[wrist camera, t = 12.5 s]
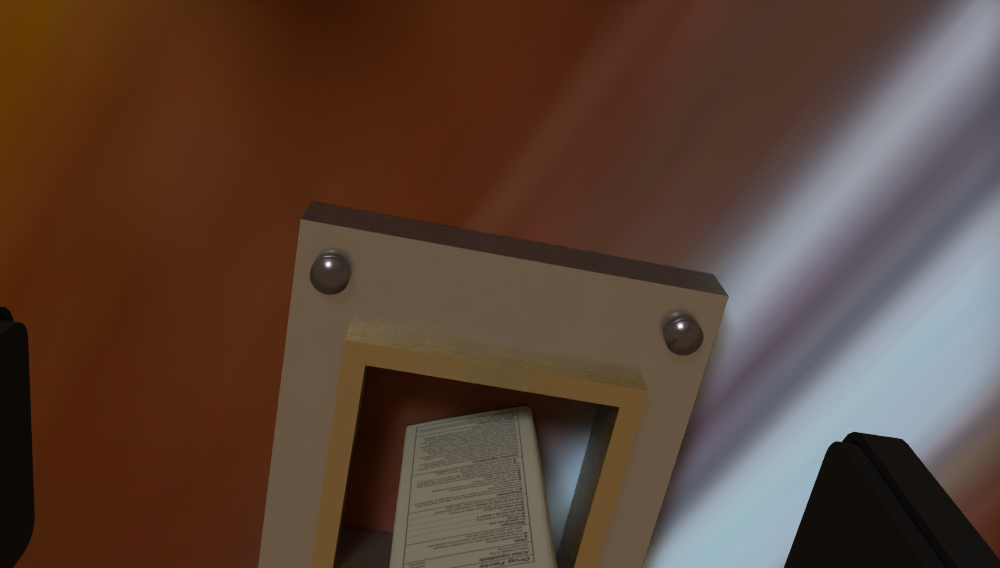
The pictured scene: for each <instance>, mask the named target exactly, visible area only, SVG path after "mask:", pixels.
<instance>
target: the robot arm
mask: <svg viewBox="0 0 1000 568" xmlns="http://www.w3.org/2000/svg"><path fill="white" fill-rule="evenodd" d="M34 519H35V514H34V486H33V459H32V432H31V404H30V377H29V350H28V334H27V330H26V327H25V325H24V324H22V323H20V322H14V320H13V317H12V315H11V312H10V311H9V310H8V309H7V308H6V307H0V568H13V567H14V566H15V564H16V563H17V562H18V560H19V559H20V557H21V556H22V555H23V553H24V552H25V550H26V548H27V546H28V544H29V542H30V539H31V536H32V533H33V528H34ZM784 568H1000V560H999V558H998V557H997V556H996V555H995V553H994V552H993V551H992V549H991V548H990V547H989V546H988V544H987V543H986V542H985V541H984V539H983V538H982V537H981V536H980V534H979V533H978V532H977V531H976V529H975V528H974V527H973V526H972V524H971V523H970V522H969V521H968V519H967V518H966V517H965V516H964V514H963V513H962V512H961V511H960V509H959V508H958V507H957V506H956V504H955V503H954V502H953V500H952V499H951V498H950V497H949V495H948V494H947V493H946V492H945V490H944V489H943V488H942V487H941V485H940V484H939V483H938V482H937V480H936V479H935V478H934V477H933V475H932V474H931V473H930V472H929V470H928V469H927V468H926V467H925V465H924V464H923V463H922V462H921V460H920V459H919V458H918V457H917V455H916V454H915V453H914V451H913V450H912V449H911V448H910V446H909V445H908V444H907V443H906V442H905V441H903V440H902V439H898V438H892V437H885V436H878V435H872V434H865V433H858V432H852V433H850V434H848V435H847V436H846V437H845V438H844V440H843V441H842V442H837V441H836V442H834V443H832V444H831V445H830V446H829V448H828V450H827V452H826V454H825V457H824V460H823V462H822V465H821V468H820V471H819V473H818V476H817V479H816V481H815V484H814V487H813V490H812V492H811V495H810V498H809V501H808V503H807V506H806V509H805V512H804V514H803V517H802V520H801V522H800V525H799V528H798V531H797V533H796V536H795V539H794V542H793V544H792V547H791V550H790V553H789V555H788V558H787V561H786V563H785V566H784Z"/></svg>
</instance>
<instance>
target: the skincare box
mask: <svg viewBox="0 0 1000 568" xmlns="http://www.w3.org/2000/svg"><path fill="white" fill-rule="evenodd" d="M389 568H557V564H556V557H555V551H554V544H553V538H552V531H551V524H550V518H549V511H548V504H547V497H546V490H545V483H544V476H543V471H542V464H541V458H540V452H539V447H538V441H537V436H536V430H535V425H534V420H533V415H532V410H531V408H530V407H529V406H521V407H513V408H507V409H500V410H494V411H488V412H482V413H476V414H471V415H465V416H459V417H453V418H447V419H441V420H435V421H431V422H426V423H421V424H416V425H411V426H408V427H407V428H406V433H405V441H404V449H403V458H402V467H401V475H400V484H399V491H398V499H397V508H396V516H395V524H394V533H393V542H392V550H391V559H390V567H389Z"/></svg>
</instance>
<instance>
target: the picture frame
mask: <svg viewBox="0 0 1000 568" xmlns="http://www.w3.org/2000/svg"><path fill="white" fill-rule="evenodd" d="M728 297H729V296H728V295H727V293H726V292H725V290H724V289H723V287H722V286H721V284H720V283H719V281H718V280H717V279H716V277H715V276H714V275H713V274H707V273H702V272H696V271H691V270H685V269H680V268H675V267H669V266H664V265H658V264H653V263H647V262H642V261H636V260H631V259H625V258H620V257H614V256H609V255H603V254H598V253H592V252H587V251H581V250H576V249H570V248H565V247H559V246H554V245H548V244H543V243H537V242H532V241H526V240H521V239H515V238H510V237H504V236H499V235H493V234H488V233H482V232H477V231H471V230H466V229H460V228H455V227H449V226H444V225H438V224H433V223H427V222H422V221H416V220H411V219H406V218H400V217H395V216H389V215H384V214H378V213H373V212H367V211H362V210H356V209H351V208H345V207H340V206H334V205H329V204H323V203H318V202H312V201H311V203H310V205H309V206H308V208H307V210H306V211H305V213H304V215H303V216H302V218H301V221H300V229H299V237H298V246H297V254H296V262H295V270H294V278H293V287H292V295H291V303H290V311H289V320H288V328H287V336H286V344H285V352H284V361H283V369H282V377H281V385H280V393H279V402H278V410H277V418H276V426H275V435H274V443H273V451H272V459H271V467H270V476H269V484H268V492H267V500H266V508H265V517H264V525H263V533H262V541H261V550H260V558H259V566H258V568H389V567H390V559H391V550H392V542H393V533H387V532H380V531H373V530H367V529H360V528H353V527H346V526H343V520H344V513H345V507H346V501H347V495H348V489H349V482H350V476H351V470H352V464H353V458H354V452H355V445H356V439H357V433H358V427H359V421H360V415H361V408H362V402H363V396H364V390H365V384H366V378H367V371H368V366H373V367H379V368H386V369H392V370H398V371H404V372H410V373H416V374H422V375H428V376H434V377H440V378H446V379H452V380H458V381H464V382H470V383H476V384H482V385H488V386H494V387H500V388H507V389H513V390H519V391H525V392H531V393H537V394H543V395H549V396H555V397H561V398H567V399H573V400H579V401H585V402H591V403H597V404H599V406H598V409H597V413H596V417H595V420H594V424H593V428H592V431H591V435H590V438H589V442H588V446H587V449H586V453H585V457H584V460H583V464H582V468H581V471H580V475H579V478H578V482H577V486H576V489H575V493H574V497H573V500H572V504H571V507H570V511H569V515H568V518H567V522H566V526H565V529H564V533H563V537H562V540H561V544H560V547H559V551H558V555H557V558H556V564H557V568H642V565H643V562H644V558H645V555H646V552H647V549H648V546H649V543H650V540H651V537H652V534H653V530H654V527H655V524H656V521H657V518H658V515H659V512H660V509H661V506H662V502H663V499H664V496H665V493H666V490H667V487H668V484H669V481H670V477H671V474H672V471H673V468H674V465H675V462H676V459H677V456H678V453H679V449H680V446H681V443H682V440H683V437H684V434H685V431H686V428H687V425H688V421H689V418H690V415H691V412H692V409H693V406H694V403H695V400H696V396H697V393H698V390H699V387H700V384H701V381H702V378H703V375H704V372H705V368H706V365H707V362H708V359H709V356H710V353H711V350H712V347H713V344H714V340H715V337H716V334H717V331H718V328H719V325H720V322H721V319H722V315H723V312H724V309H725V306H726V303H727V300H728Z"/></svg>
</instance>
